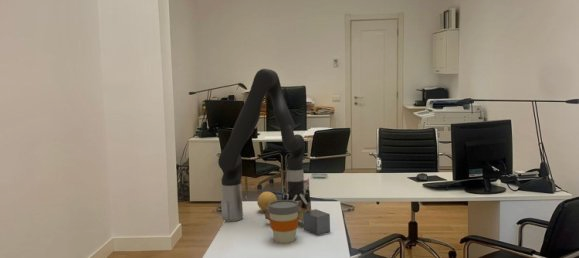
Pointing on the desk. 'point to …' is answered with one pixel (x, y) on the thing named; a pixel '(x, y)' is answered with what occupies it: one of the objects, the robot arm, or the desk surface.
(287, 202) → the reusable coffee cup
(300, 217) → the brass bar
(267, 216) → the walnut block
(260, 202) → the stress ball
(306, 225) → the grey sleeve
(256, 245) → the desk surface
